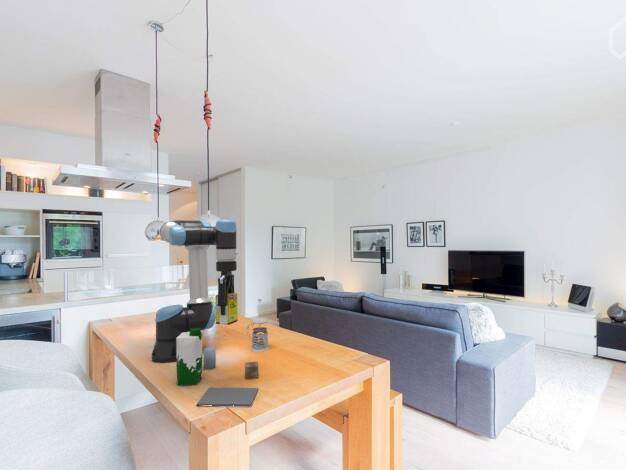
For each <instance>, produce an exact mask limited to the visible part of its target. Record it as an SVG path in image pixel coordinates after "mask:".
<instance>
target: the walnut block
mask: <svg viewBox="0 0 626 470" xmlns="http://www.w3.org/2000/svg"><path fill="white" fill-rule="evenodd" d="M244 378H245V380H246V379H247V380H258V379H259V363H258V361H247V362H246V361H245V363H244ZM247 380H246V381H247Z"/></svg>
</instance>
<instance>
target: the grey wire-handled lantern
mask: <svg viewBox="0 0 626 470" xmlns="http://www.w3.org/2000/svg"><path fill="white" fill-rule="evenodd" d="M257 301H258V302H262V301H263V299H262V298H258V299H257ZM268 322H269V319H267V318H264V317H261V316H259V317H256V318H254V319H253V320H251V323H250V324H249V325H248V326H247V328H246V329H247V332H246V335H247V336H250V339H251V347H250V348H249V350H250V352H255V353H260V352H261V353H262V352H267V351H269V350H270V346H269V345H268V339H269V337H268V331H267V330H268V328H267V327H261V326H257V327H254V328H253V329H252V333H251V334H250V333H249V332H250V331H249V330H250V329H249V328H250V326H251V327H253V326H254V324H255V325H256V324H257V325H261V324H262V325H263V324H267V323H268Z"/></svg>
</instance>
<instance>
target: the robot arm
mask: <svg viewBox="0 0 626 470" xmlns="http://www.w3.org/2000/svg"><path fill="white" fill-rule="evenodd" d="M237 231H238V229H237V222H236V221H235V220H232V219H217V220H216V222H215V226H212V225H211V224H210V223H209V222H208V221H205V220H183V219H181V220H179V219H177V220H170V221H168V222H165V223H164V224H162V225H161V227H160V229H159V237H160V238H161V239H162V241H164V242H166V243H168V244H170V245H171V246H178V247H181V246H184V249H186V250H187V251H188V276H189V277H188V278H189V279H188V280H189V281H188V282H189V285H188V286H189V300H188V301H187V303H186V306H185V307H184V306H183V304H173V305H172V304H171V305H168V306H164V307H160V309H157V311H156V313H155V319H154V320H155V343H154V345H153V349H152V353H151V355H150V356H151V359H152V360H151V362H153V361H154V363H158V362H160V363H161V364H164V363H166V362H167V363H173V362H177V342H176V338H177V337H178V336H179V335H180V334H181V333H184V332H190V329H192V328H201V331H205V330H209V329H212V328H213V327H214V326H215V324H216V304H214V303H213V301H212V300H211V299H210V298H209V290H208V289H209V285H208V283H209V282H208V281H209V279H208V258H207V257H208V256H207V250H208V249H209V248H210V246H215V260H217V261H216V262H215V270H216V271H217V272H220V276H219V277H218V278H217V294H218V304H217V306H220V324H219V325H226V324H228V306H227V295H228V293H235V274H232V272H235V271H237V268H238V266H237V263H238V262H237V261H236V259H237V255H238V254H239V252H238V251H237ZM160 363H159V364H160Z"/></svg>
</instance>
